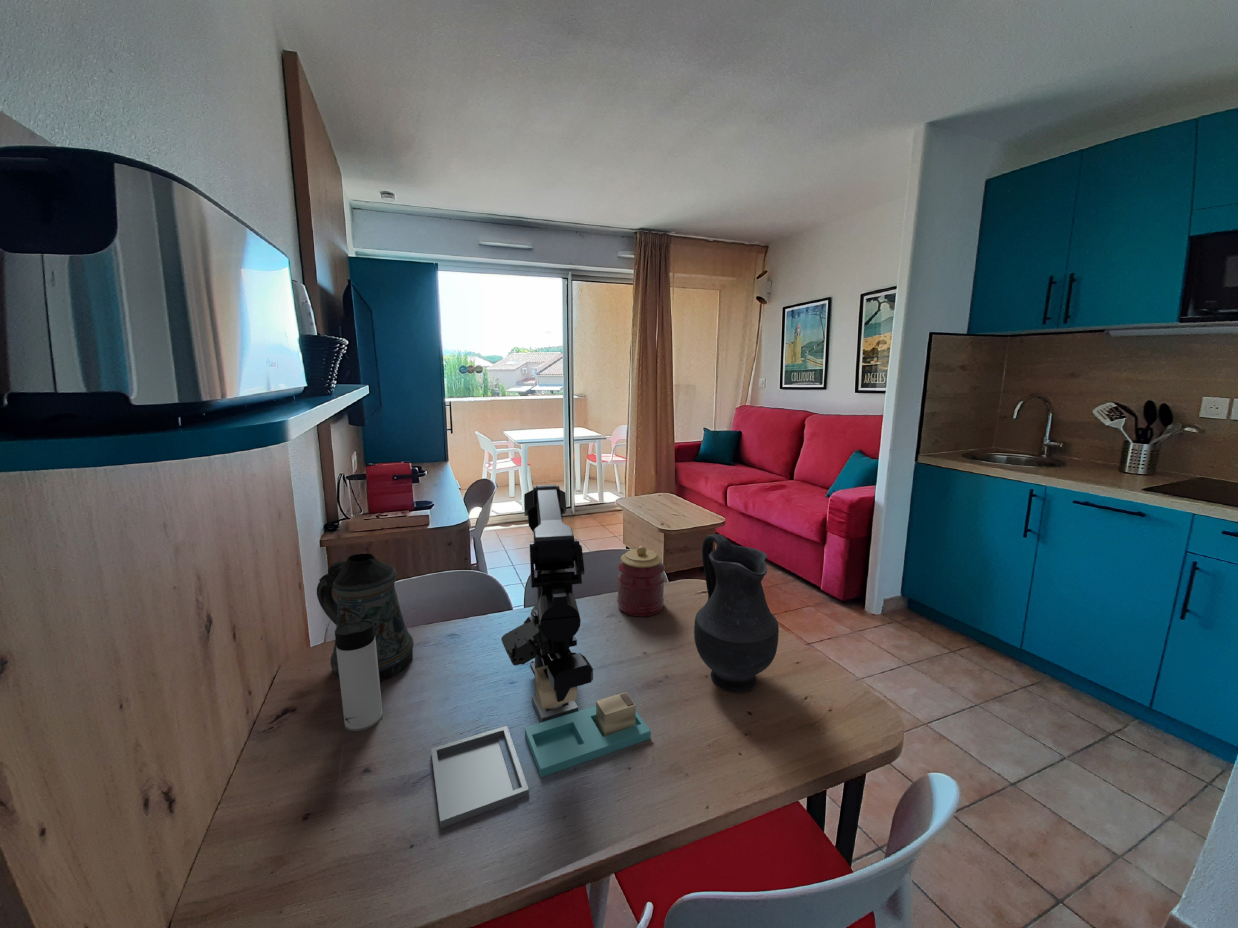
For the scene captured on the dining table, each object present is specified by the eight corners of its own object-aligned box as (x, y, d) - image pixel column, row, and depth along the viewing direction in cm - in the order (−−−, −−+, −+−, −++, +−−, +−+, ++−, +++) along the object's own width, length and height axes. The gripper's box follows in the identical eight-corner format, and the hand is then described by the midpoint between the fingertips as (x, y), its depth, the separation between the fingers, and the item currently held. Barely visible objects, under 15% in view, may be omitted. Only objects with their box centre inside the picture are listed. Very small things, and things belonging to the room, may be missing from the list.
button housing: (532, 706, 96) (531, 694, 95) (565, 696, 99) (565, 685, 98) (542, 730, 89) (542, 718, 89) (578, 718, 92) (578, 707, 92)
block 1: (535, 694, 83) (535, 667, 82) (569, 685, 85) (569, 658, 84) (542, 709, 79) (541, 681, 78) (577, 699, 82) (577, 671, 81)
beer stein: (408, 680, 103) (399, 569, 98) (304, 695, 98) (289, 579, 93) (419, 638, 119) (411, 541, 114) (329, 649, 114) (318, 548, 109)
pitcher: (723, 715, 94) (732, 569, 88) (668, 657, 112) (673, 533, 106) (792, 692, 101) (805, 555, 95) (730, 641, 119) (738, 523, 113)
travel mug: (344, 740, 86) (332, 637, 82) (345, 717, 92) (334, 619, 88) (383, 728, 89) (374, 629, 85) (382, 706, 95) (373, 612, 91)
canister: (613, 615, 131) (613, 553, 127) (621, 593, 143) (621, 536, 140) (661, 619, 129) (663, 556, 125) (665, 597, 141) (667, 539, 138)
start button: (542, 702, 94) (542, 691, 94) (560, 697, 96) (560, 686, 96) (548, 714, 91) (548, 702, 91) (566, 708, 93) (566, 697, 92)
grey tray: (431, 758, 83) (431, 748, 82) (507, 735, 88) (507, 725, 88) (441, 832, 70) (440, 821, 69) (529, 800, 75) (528, 789, 75)
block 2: (596, 724, 89) (596, 700, 88) (625, 715, 92) (625, 691, 91) (604, 739, 86) (605, 714, 85) (635, 729, 88) (635, 704, 87)
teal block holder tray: (524, 739, 87) (524, 727, 87) (625, 707, 95) (625, 696, 95) (541, 782, 78) (540, 768, 78) (650, 743, 87) (650, 730, 86)
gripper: (493, 592, 84) (496, 673, 87) (519, 649, 67) (523, 746, 71) (555, 581, 89) (556, 658, 92) (594, 631, 72) (594, 723, 75)
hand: (556, 692), depth 82 cm, fingers closed on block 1, 4 cm apart
